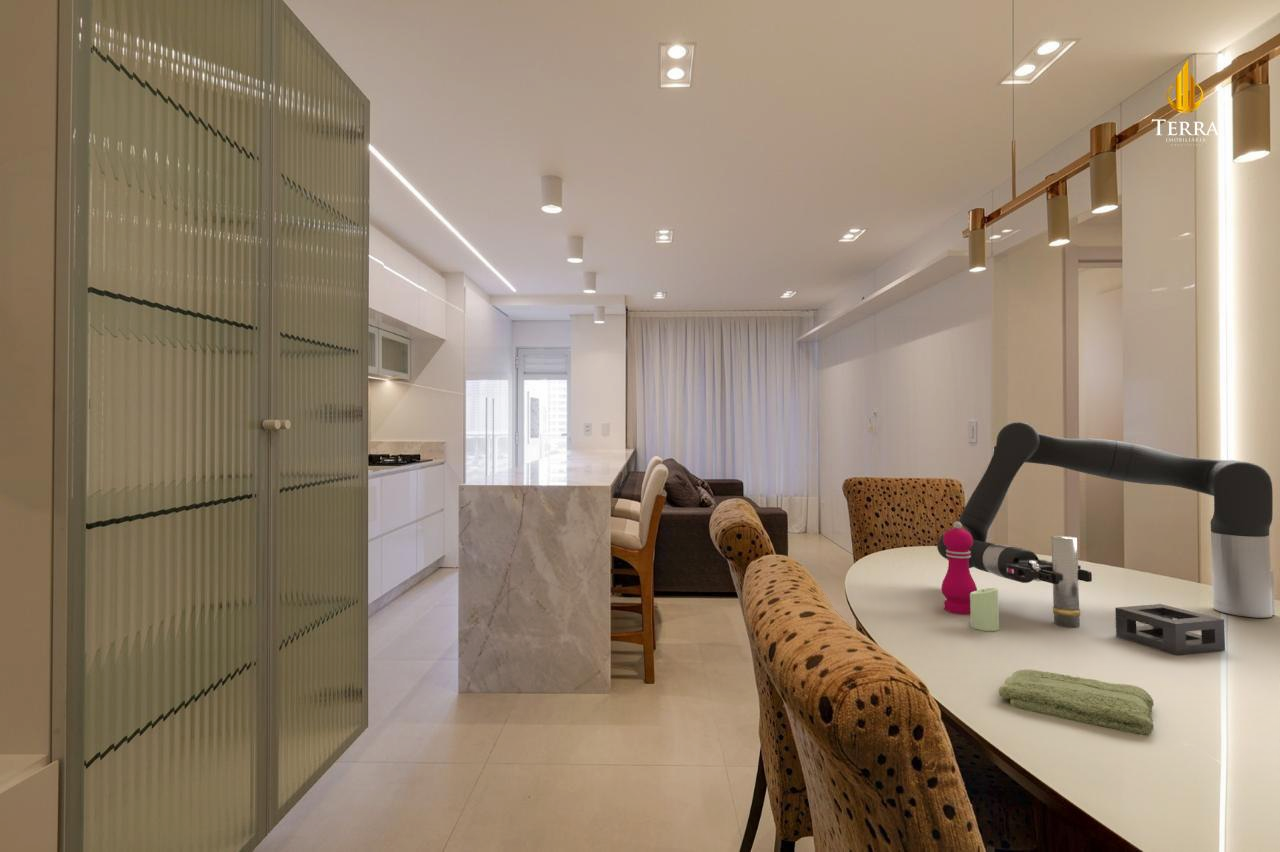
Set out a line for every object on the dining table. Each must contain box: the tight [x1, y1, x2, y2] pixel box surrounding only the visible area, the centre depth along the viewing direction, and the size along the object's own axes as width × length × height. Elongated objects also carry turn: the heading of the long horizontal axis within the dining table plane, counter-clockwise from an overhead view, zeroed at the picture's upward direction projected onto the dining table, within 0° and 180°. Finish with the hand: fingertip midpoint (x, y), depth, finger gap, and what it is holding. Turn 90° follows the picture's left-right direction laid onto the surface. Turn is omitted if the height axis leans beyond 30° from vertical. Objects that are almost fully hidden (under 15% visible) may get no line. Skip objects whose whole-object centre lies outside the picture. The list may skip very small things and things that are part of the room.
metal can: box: [1051, 535, 1081, 628], centre depth 126 cm, size 5×5×18 cm
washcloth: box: [998, 669, 1155, 735], centre depth 88 cm, size 13×18×3 cm
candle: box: [970, 587, 1000, 632], centre depth 125 cm, size 5×5×8 cm
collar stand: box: [1114, 603, 1226, 656], centre depth 114 cm, size 11×11×6 cm
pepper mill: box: [940, 521, 978, 615], centre depth 137 cm, size 7×7×20 cm
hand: (1074, 577), depth 124 cm, fingers open, 7 cm apart
